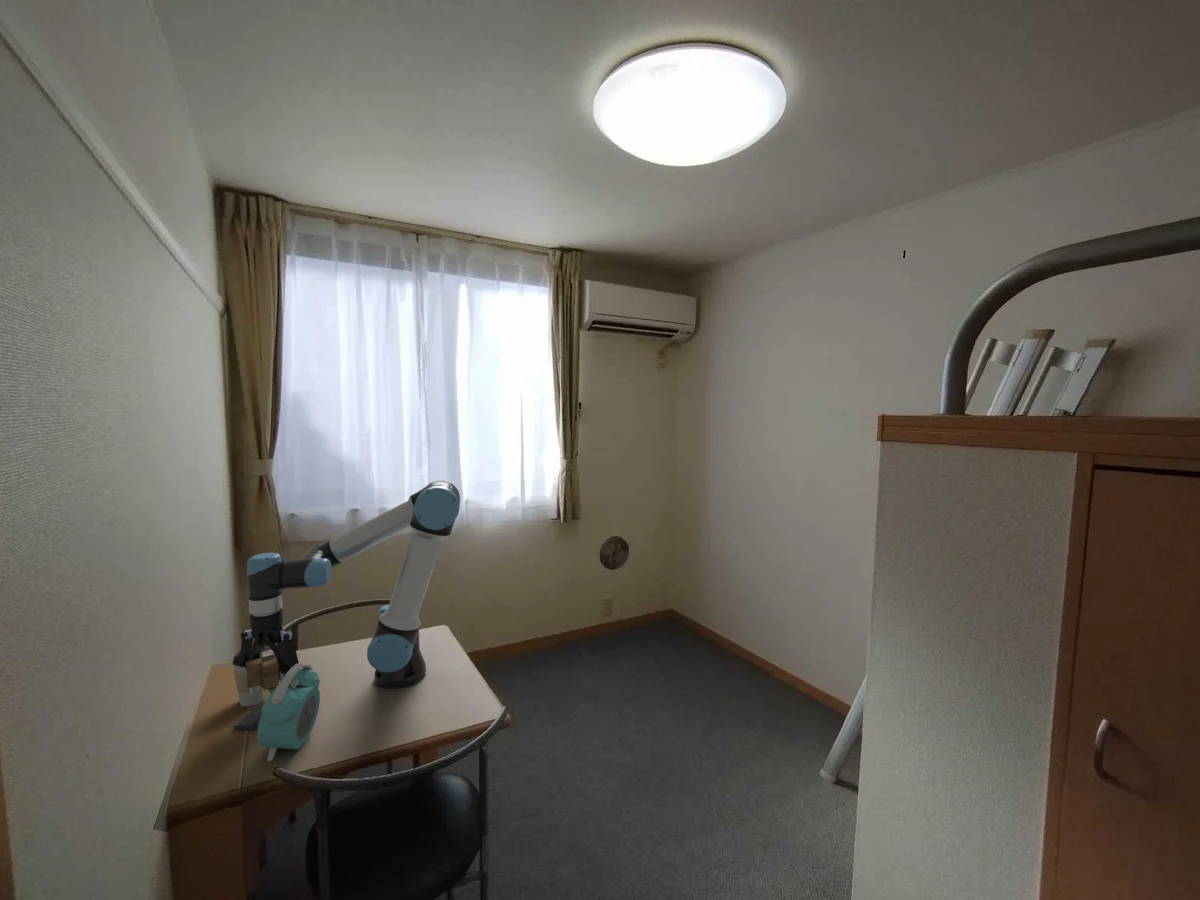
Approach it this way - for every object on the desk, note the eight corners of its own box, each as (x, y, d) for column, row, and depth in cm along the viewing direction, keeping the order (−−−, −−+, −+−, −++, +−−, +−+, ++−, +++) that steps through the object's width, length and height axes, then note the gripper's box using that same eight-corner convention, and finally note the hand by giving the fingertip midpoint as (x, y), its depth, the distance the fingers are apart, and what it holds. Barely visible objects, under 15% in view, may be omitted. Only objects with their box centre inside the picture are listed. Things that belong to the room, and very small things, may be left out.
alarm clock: (290, 723, 133) (286, 651, 131) (327, 722, 133) (324, 650, 132) (250, 770, 115) (245, 687, 114) (293, 767, 116) (289, 685, 115)
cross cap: (294, 684, 135) (292, 658, 134) (249, 697, 128) (247, 670, 128) (288, 669, 142) (287, 645, 142) (246, 681, 136) (244, 656, 136)
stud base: (306, 703, 142) (305, 672, 141) (278, 729, 130) (277, 696, 129) (264, 702, 142) (263, 672, 142) (233, 729, 130) (231, 696, 130)
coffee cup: (253, 710, 139) (250, 658, 137) (226, 706, 140) (223, 655, 139) (280, 692, 147) (277, 643, 146) (254, 689, 149) (252, 641, 148)
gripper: (312, 607, 137) (315, 686, 138) (241, 604, 139) (245, 682, 140) (292, 618, 129) (296, 701, 131) (218, 615, 131) (223, 697, 133)
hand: (270, 691), depth 136 cm, fingers open, 8 cm apart
